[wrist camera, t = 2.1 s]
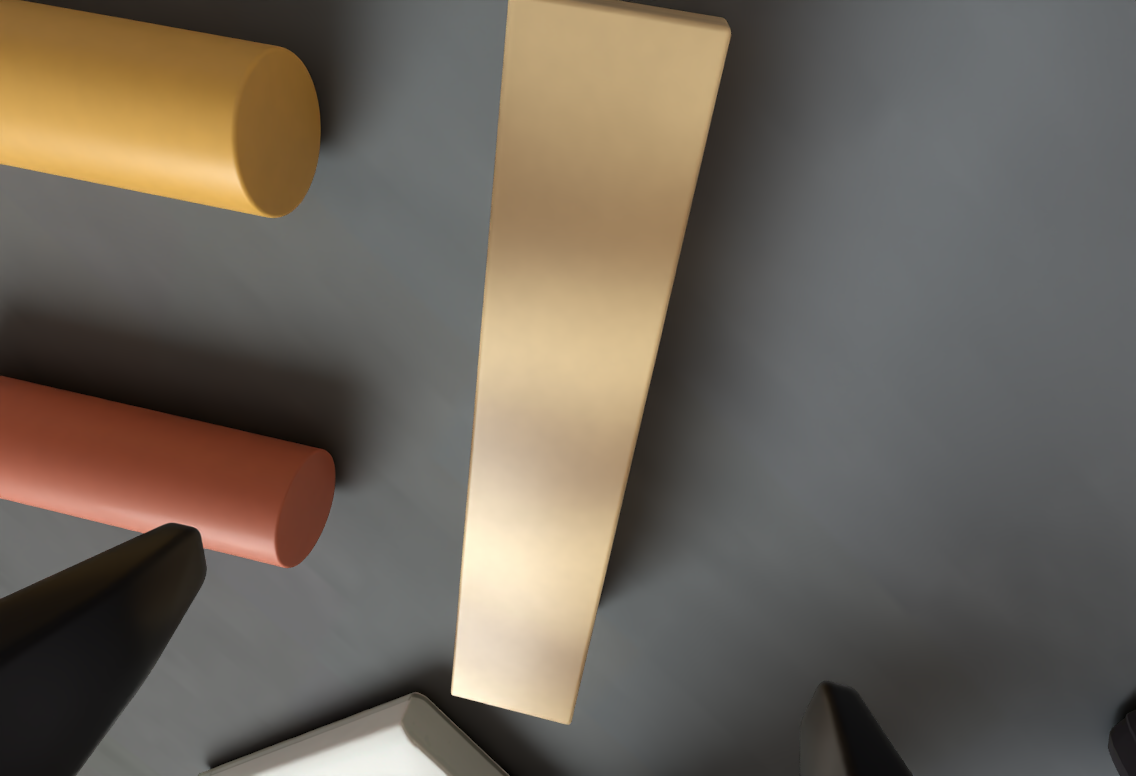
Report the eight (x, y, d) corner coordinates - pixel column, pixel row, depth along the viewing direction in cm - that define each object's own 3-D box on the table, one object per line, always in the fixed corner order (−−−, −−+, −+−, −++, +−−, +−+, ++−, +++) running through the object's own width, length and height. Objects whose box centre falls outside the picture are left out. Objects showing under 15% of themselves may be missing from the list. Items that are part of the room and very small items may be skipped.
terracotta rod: (338, 515, 20) (281, 594, 17) (13, 438, 20) (-89, 502, 18) (334, 426, 18) (271, 499, 15) (-17, 347, 19) (-133, 404, 16)
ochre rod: (325, 196, 15) (244, 239, 12) (-95, 113, 16) (-252, 137, 13) (318, 41, 13) (225, 53, 11) (-145, -41, 14) (-335, -48, 12)
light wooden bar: (592, 614, 20) (570, 726, 17) (489, 590, 20) (449, 696, 17) (728, 18, 12) (732, 27, 9) (557, -10, 12) (508, -11, 9)
